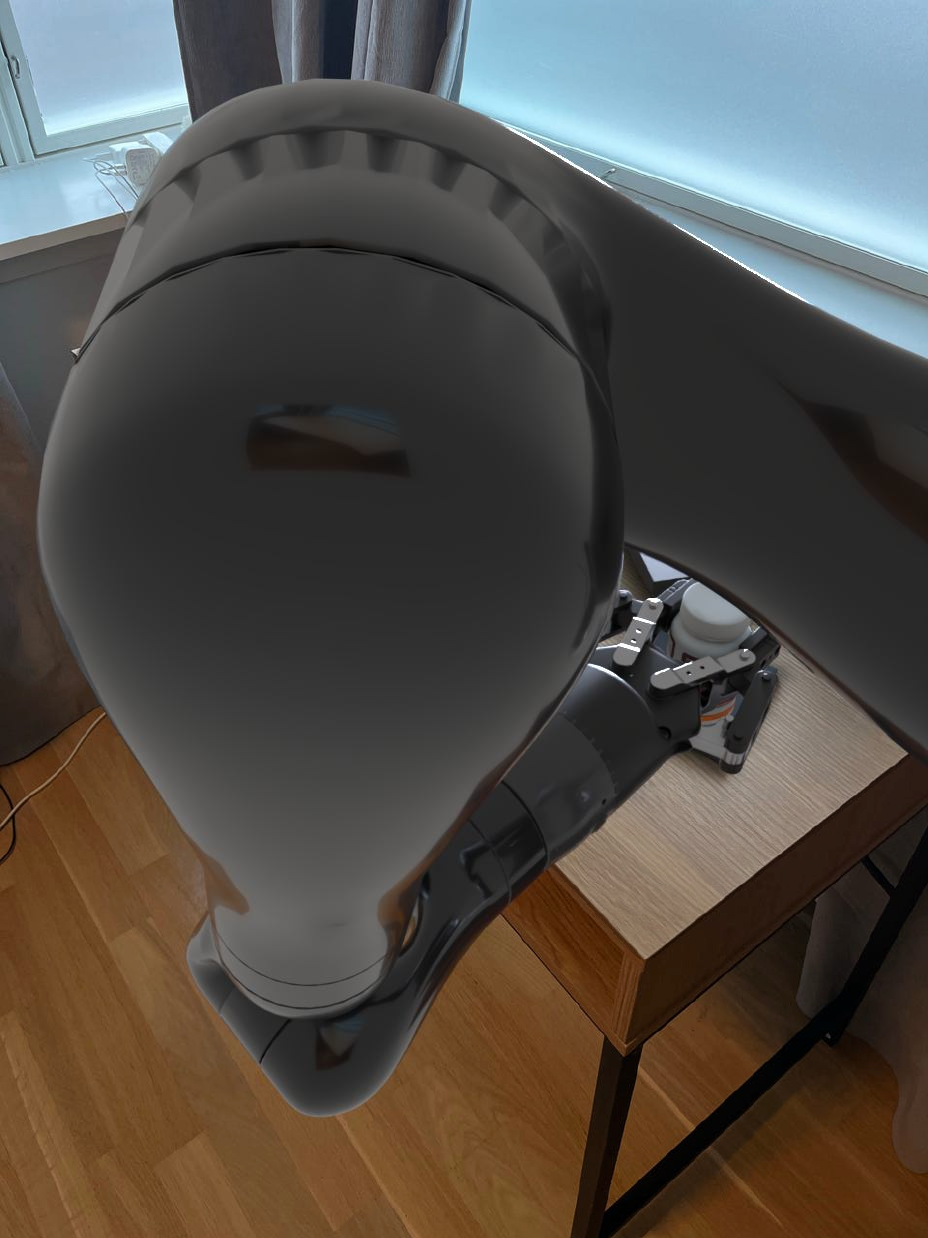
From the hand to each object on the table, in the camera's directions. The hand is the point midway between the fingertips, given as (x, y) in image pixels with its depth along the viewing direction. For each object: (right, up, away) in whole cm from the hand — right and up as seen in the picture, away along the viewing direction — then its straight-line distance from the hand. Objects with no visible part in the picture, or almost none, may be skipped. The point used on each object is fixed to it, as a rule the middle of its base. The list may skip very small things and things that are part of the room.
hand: (735, 609), depth 59 cm
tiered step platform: (+8, +6, +29) cm, 30 cm away
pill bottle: (-2, -6, +3) cm, 7 cm away
